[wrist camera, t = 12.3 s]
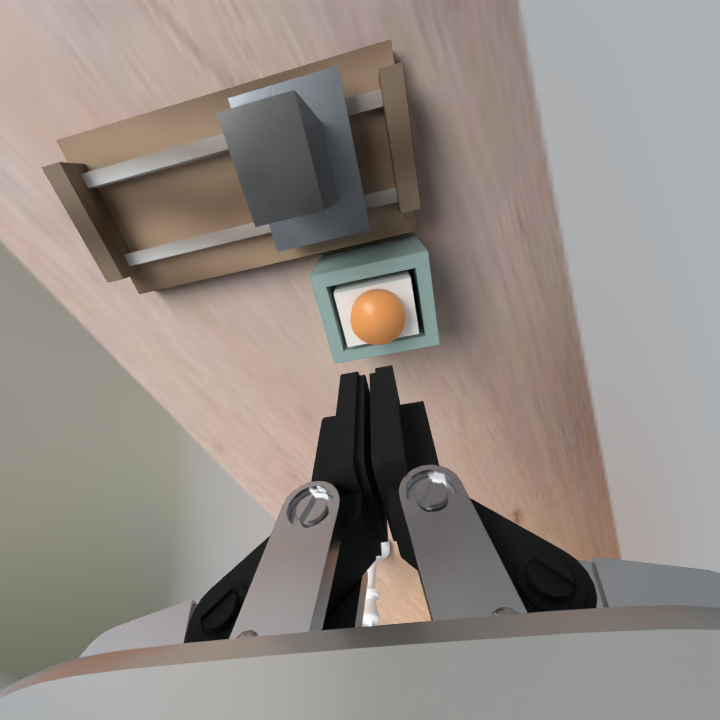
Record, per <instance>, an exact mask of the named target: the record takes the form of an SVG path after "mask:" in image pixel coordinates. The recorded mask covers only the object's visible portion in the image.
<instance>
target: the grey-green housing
mask: <svg viewBox="0 0 720 720" xmlns="http://www.w3.org/2000/svg"><path fill="white" fill-rule="evenodd" d="M408 269H409V271H410V277H411V283H412V289H413V296H414V303H415V309H416V316H417V322H418V329H419V334H415V335H410V336H405V337H400V338H396V339H395V340H393V341H392V342H390V343H387V344H384V345H372V344H363V345H357V346H352V347H348V346H347V343H346V339H345V335H344V331H343V328H342V324H341V320H340V316H339V313H338V309H337V305H336V301H335V297H334V291H335V288H336V285H338V284H342V283H347V282H352V281H356V280H361V279H366V278H370V277H375V276H380V275H384V274H389V273H394V272H398V271H403V270H408ZM310 280H311V284H312V287H313V291H314V294H315V298H316V301H317V304H318V308H319V311H320V315H321V318H322V322H323V325H324V328H325V332H326V335H327V339H328V342H329V345H330V349H331V352H332V356H333V359H334V363H335V364H337V363H343V362H348V361H353V360H359V359H364V358H370V357H375V356H381V355H386V354H392V353H397V352H402V351H408V350H413V349H419V348H424V347H430V346H435V345H440V344H439V336H438V328H437V320H436V312H435V304H434V296H433V287H432V279H431V271H430V263H429V255H428V250H427V249H426V248H425V247H424V245H423V244H422V243H421V242H420V240H419V239H418V238H417V237H416V235H415V236H410V237H406V238H402V239H397V240H393V241H388V242H384V243H379V244H375V245H371V246H366V247H362V248H357V249H353V250H349V251H344V252H340V253H335V254H331V255H326V256H322V258H321V259H320V261H319V262H318V264H317V266H316V267H315V269H314V270H313V272H312V273H311V275H310Z"/></svg>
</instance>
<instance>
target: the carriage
mask: <svg viewBox="0 0 720 720" xmlns="http://www.w3.org/2000/svg"><path fill="white" fill-rule="evenodd" d="M228 100H229V103H230V107H231V109H227V110H224V111H221V112H217V113H216V114H217V117H218V120H219V122H220V125H221V128H222V131H223V134H224V137H225V140H226V143H227V146H228V149H229V152H230V155H231V157H232V160H233V163H234V166H235V169H236V172H237V175H238V178H239V181H240V184H241V187H242V190H243V192H244V195H245V198H246V201H247V204H248V207H249V210H250V213H251V216H252V219H253V222H254V225H255V227H259V226H263V225H267V224H269V227H270V230H271V233H272V236H273V239H274V242H275V245H276V248H277V251H278V252H279V251H284V250H288V249H292V248H297V247H301V246H305V245H310V244H314V243H318V242H323V241H327V240H331V239H335V238H340V237H344V236H348V235H353V234H357V233H361V232H366V231H370V223H369V218H368V213H367V207H366V202H365V197H364V192H363V187H362V182H361V177H360V172H359V166H358V161H357V156H356V151H355V146H354V141H353V136H352V130H351V125H350V120H349V115H348V110H347V105H346V100H345V95H344V89H343V84H342V79H341V74H340V70H339V66H335V67H331V68H328V69H324V70H321V71H318V72H314V73H311V74H308V75H304V76H301V77H298V78H294V79H291V80H288V81H284V82H281V83H278V84H274V85H271V86H267V87H264V88H261V89H257V90H254V91H251V92H247V93H244V94H241V95H237V96H234V97H231V98H228Z"/></svg>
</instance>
